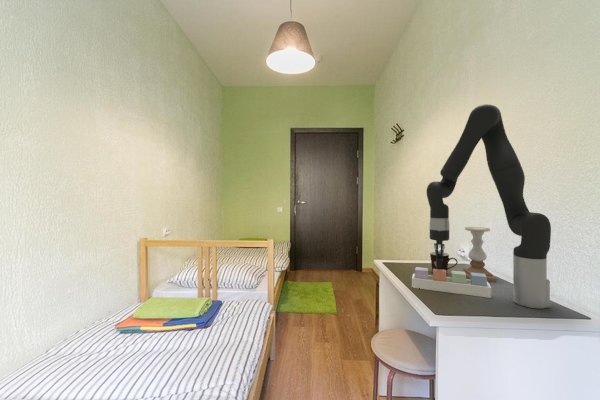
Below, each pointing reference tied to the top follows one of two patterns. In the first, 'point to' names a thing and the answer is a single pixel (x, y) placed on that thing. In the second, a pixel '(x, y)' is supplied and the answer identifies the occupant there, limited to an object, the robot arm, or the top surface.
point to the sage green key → (458, 277)
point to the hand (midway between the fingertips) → (439, 269)
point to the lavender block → (421, 273)
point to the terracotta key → (439, 275)
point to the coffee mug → (444, 262)
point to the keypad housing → (452, 286)
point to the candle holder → (477, 254)
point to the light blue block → (478, 279)
